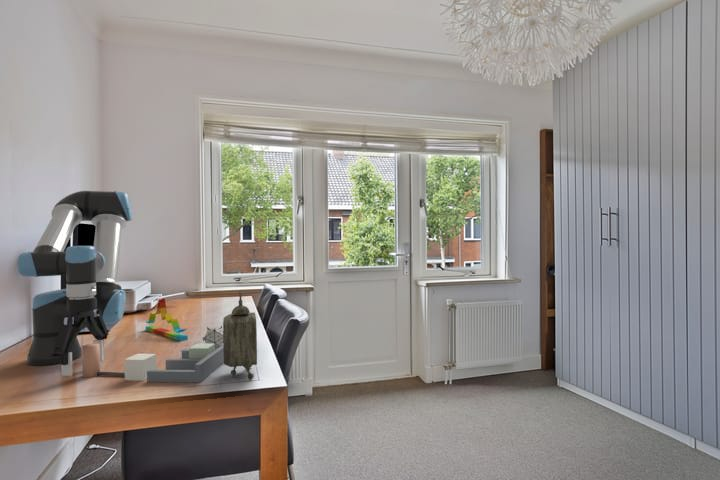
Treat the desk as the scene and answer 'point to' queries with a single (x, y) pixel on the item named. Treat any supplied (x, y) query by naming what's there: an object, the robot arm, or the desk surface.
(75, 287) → the robot arm
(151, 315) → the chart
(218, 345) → the grey spiky lattice polyhedron
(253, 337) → the tabletop clock
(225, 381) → the desk surface
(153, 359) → the corded block
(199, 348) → the sage block
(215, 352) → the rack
